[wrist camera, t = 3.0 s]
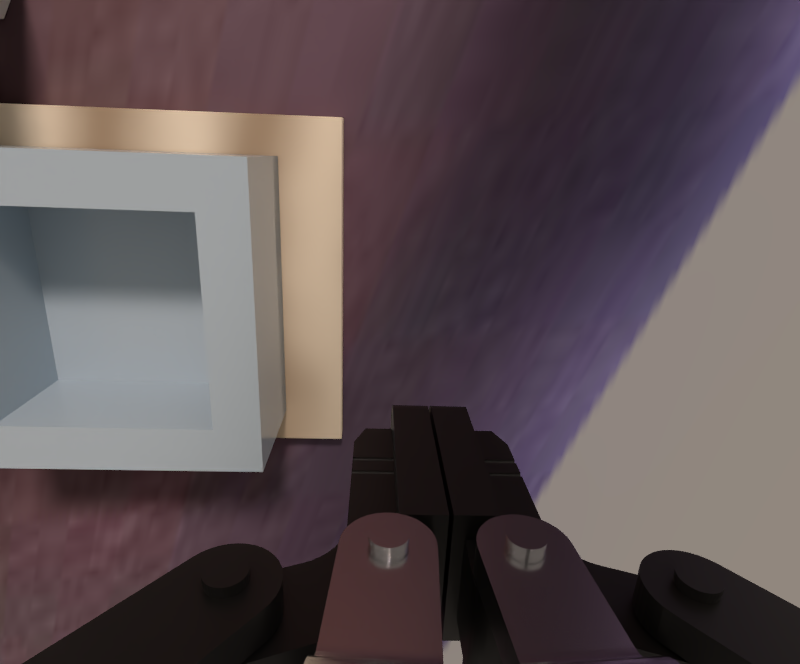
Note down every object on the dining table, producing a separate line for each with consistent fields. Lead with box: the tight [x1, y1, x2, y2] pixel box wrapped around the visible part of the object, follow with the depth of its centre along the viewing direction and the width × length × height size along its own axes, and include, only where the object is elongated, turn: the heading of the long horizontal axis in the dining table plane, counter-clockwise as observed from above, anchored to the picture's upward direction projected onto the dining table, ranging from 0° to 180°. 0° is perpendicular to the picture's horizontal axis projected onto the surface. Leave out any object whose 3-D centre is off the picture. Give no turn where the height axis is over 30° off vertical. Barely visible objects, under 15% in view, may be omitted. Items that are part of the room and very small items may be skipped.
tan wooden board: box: [0, 103, 344, 439], centre depth 18 cm, size 22×22×10 cm
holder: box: [0, 145, 286, 472], centre depth 20 cm, size 11×11×5 cm
